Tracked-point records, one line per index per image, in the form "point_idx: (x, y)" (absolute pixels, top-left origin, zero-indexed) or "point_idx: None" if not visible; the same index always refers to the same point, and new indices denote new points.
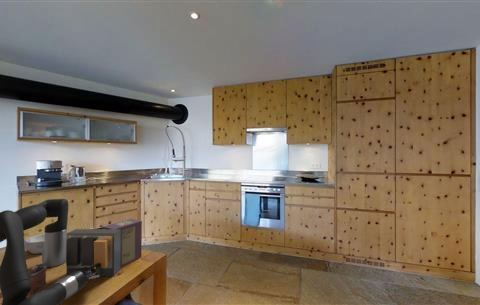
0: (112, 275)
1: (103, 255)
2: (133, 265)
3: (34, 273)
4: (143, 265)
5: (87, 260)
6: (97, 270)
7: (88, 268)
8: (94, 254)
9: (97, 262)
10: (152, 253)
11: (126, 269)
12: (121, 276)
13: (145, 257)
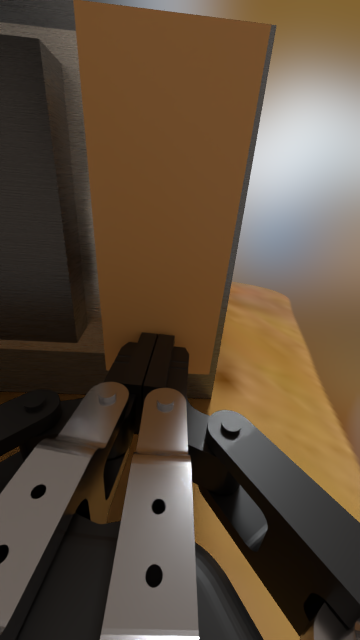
0: (203, 394)
1: (209, 257)
2: (235, 330)
3: None
4: (278, 332)
5: (24, 300)
6: (326, 525)
7: (97, 452)
8: (101, 237)
9: (137, 325)
10: (241, 287)
11: (229, 350)
12: (257, 401)
13: (237, 299)
